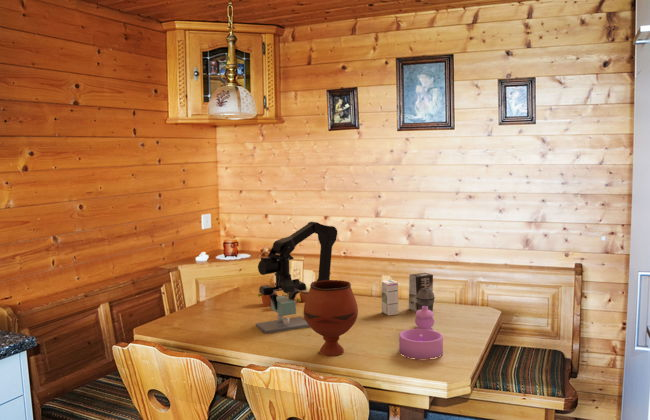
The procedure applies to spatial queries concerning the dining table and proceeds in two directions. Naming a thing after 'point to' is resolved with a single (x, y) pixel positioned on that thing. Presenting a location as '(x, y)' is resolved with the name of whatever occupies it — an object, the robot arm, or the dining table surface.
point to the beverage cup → (425, 298)
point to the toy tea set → (267, 300)
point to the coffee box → (418, 287)
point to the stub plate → (282, 324)
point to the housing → (284, 306)
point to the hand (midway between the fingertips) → (283, 308)
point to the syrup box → (390, 297)
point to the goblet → (330, 312)
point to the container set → (421, 338)
